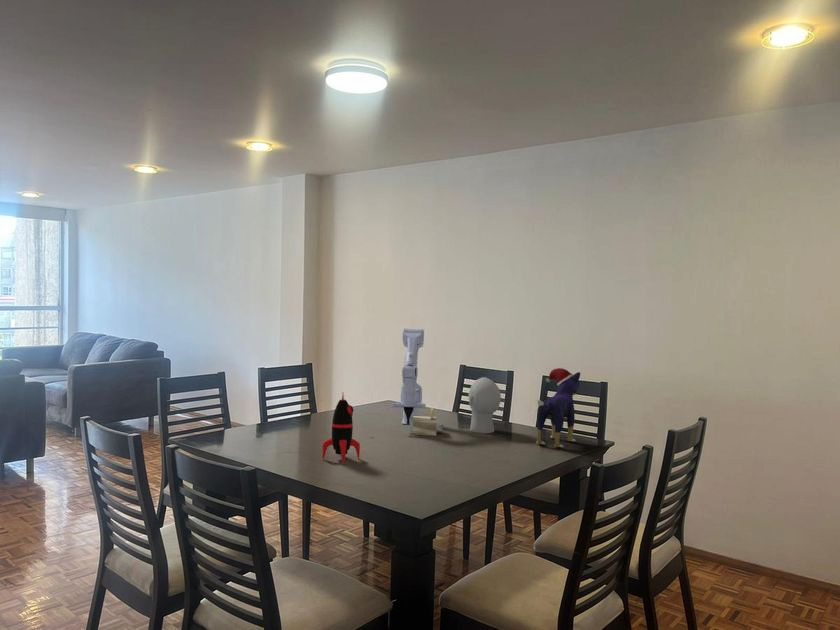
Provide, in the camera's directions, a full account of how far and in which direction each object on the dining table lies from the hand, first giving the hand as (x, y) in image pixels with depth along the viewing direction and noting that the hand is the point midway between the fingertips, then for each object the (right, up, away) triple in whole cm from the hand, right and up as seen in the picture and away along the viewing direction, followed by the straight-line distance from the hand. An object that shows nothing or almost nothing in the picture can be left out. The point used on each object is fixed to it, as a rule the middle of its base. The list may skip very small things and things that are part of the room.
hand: (408, 424), depth 271 cm
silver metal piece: (+8, -4, 0) cm, 9 cm away
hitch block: (+7, -4, 0) cm, 8 cm away
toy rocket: (-23, -4, -48) cm, 54 cm away
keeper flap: (+10, +3, 0) cm, 11 cm away
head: (+33, -4, +8) cm, 34 cm away
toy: (+60, -6, -12) cm, 61 cm away
